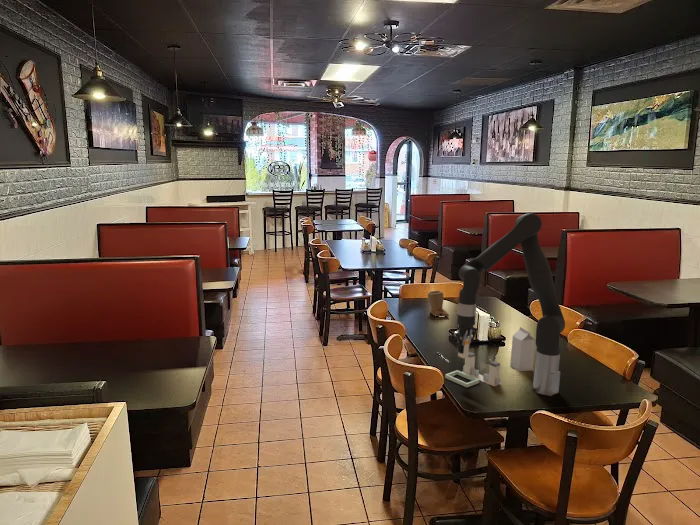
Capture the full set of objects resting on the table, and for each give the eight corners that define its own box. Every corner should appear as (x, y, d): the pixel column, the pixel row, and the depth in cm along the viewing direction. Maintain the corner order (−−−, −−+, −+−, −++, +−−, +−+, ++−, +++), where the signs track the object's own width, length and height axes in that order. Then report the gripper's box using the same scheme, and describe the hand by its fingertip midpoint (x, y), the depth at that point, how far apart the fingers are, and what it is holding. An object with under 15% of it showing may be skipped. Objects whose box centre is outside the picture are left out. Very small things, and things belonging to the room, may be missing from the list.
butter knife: (440, 351, 256) (434, 352, 255) (468, 373, 231) (462, 374, 230) (440, 353, 256) (434, 353, 255) (468, 375, 231) (462, 375, 230)
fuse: (468, 356, 218) (469, 336, 216) (463, 358, 216) (465, 338, 214) (462, 354, 220) (464, 334, 218) (457, 356, 218) (459, 336, 216)
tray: (478, 386, 218) (479, 379, 217) (466, 390, 213) (467, 384, 212) (457, 376, 227) (457, 370, 226) (444, 380, 222) (445, 374, 221)
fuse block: (501, 386, 217) (503, 363, 215) (494, 389, 214) (496, 366, 212) (467, 372, 232) (469, 350, 230) (460, 375, 229) (461, 352, 226)
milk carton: (518, 372, 233) (522, 332, 230) (509, 366, 240) (513, 327, 237) (532, 370, 235) (535, 331, 232) (523, 364, 242) (526, 326, 238)
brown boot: (425, 311, 326) (426, 288, 323) (443, 311, 327) (445, 288, 324) (429, 318, 311) (431, 294, 309) (449, 318, 312) (450, 294, 309)
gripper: (462, 318, 207) (459, 358, 210) (484, 312, 215) (481, 351, 219) (448, 313, 213) (445, 352, 216) (470, 308, 221) (467, 346, 224)
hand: (463, 351), depth 217 cm, fingers closed on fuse, 3 cm apart
